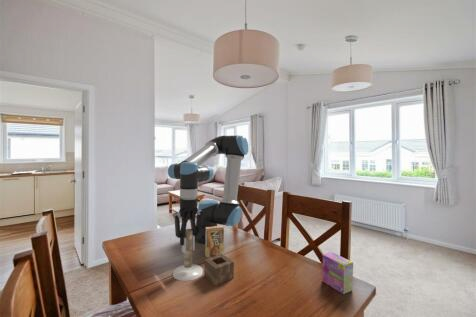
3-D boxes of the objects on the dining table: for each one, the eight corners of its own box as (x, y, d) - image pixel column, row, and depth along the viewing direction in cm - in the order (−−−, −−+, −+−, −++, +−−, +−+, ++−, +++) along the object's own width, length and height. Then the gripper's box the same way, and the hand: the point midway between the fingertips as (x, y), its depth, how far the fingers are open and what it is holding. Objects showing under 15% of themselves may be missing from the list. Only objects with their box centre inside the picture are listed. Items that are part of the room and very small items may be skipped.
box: (321, 281, 96) (322, 254, 95) (330, 277, 99) (331, 251, 98) (343, 295, 87) (344, 265, 86) (352, 290, 90) (353, 262, 89)
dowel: (189, 263, 101) (190, 228, 100) (193, 266, 98) (193, 230, 98) (182, 265, 99) (183, 229, 98) (186, 268, 96) (186, 232, 96)
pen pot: (221, 270, 102) (222, 253, 102) (233, 280, 95) (234, 261, 95) (204, 277, 97) (204, 259, 96) (215, 288, 90) (216, 268, 89)
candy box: (221, 253, 119) (221, 225, 118) (223, 257, 115) (224, 227, 114) (204, 255, 116) (205, 226, 115) (206, 259, 112) (207, 229, 111)
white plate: (194, 263, 108) (194, 261, 108) (208, 276, 98) (208, 273, 98) (168, 272, 100) (168, 269, 100) (180, 287, 90) (180, 284, 90)
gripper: (201, 194, 105) (200, 243, 106) (167, 198, 95) (166, 252, 96) (209, 197, 100) (208, 249, 101) (174, 202, 89) (173, 259, 90)
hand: (188, 250), depth 98 cm, fingers closed on dowel, 3 cm apart
